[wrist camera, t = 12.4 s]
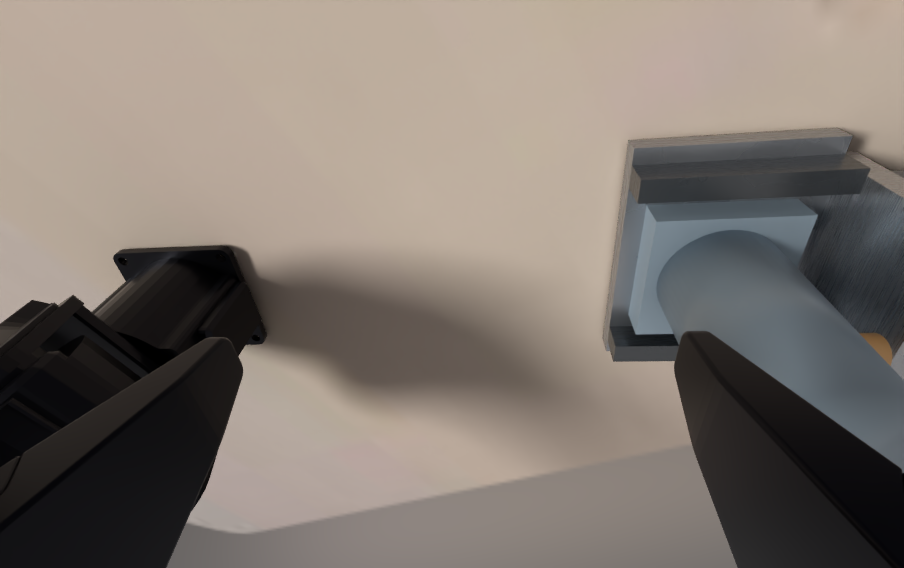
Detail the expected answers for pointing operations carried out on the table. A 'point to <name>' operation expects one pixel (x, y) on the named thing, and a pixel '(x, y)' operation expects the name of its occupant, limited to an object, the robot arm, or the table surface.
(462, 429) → the table surface
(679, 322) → the blue-grey knob on base
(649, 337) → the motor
